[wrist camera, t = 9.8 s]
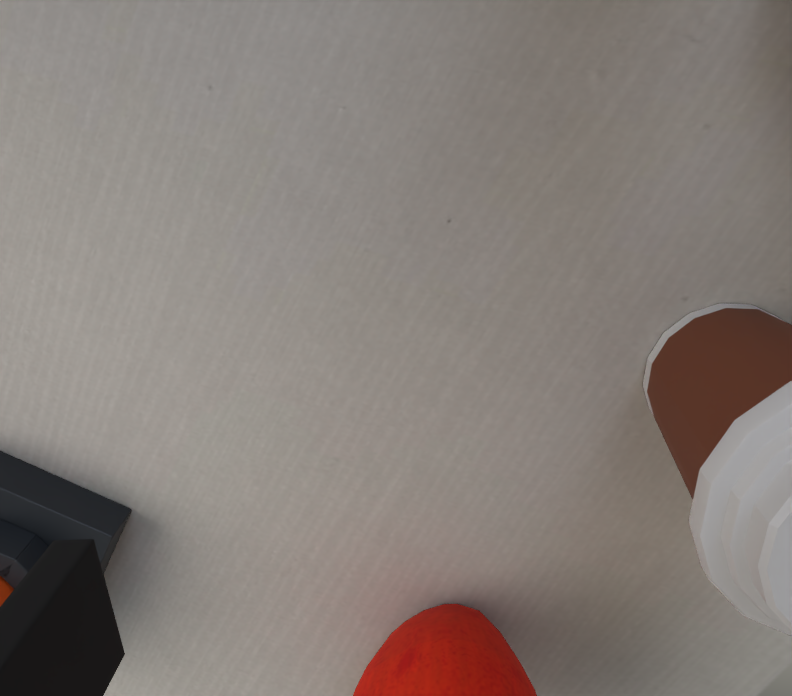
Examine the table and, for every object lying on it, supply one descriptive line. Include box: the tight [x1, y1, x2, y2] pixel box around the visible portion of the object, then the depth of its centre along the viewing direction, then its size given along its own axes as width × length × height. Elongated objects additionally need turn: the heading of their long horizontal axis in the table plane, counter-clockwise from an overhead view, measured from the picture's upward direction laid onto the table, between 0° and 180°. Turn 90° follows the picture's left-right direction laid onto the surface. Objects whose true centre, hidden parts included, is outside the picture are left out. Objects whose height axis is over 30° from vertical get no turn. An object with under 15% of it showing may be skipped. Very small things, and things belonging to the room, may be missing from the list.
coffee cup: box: [643, 303, 792, 636], centre depth 24 cm, size 9×9×12 cm
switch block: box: [0, 451, 131, 589], centre depth 32 cm, size 10×8×4 cm
